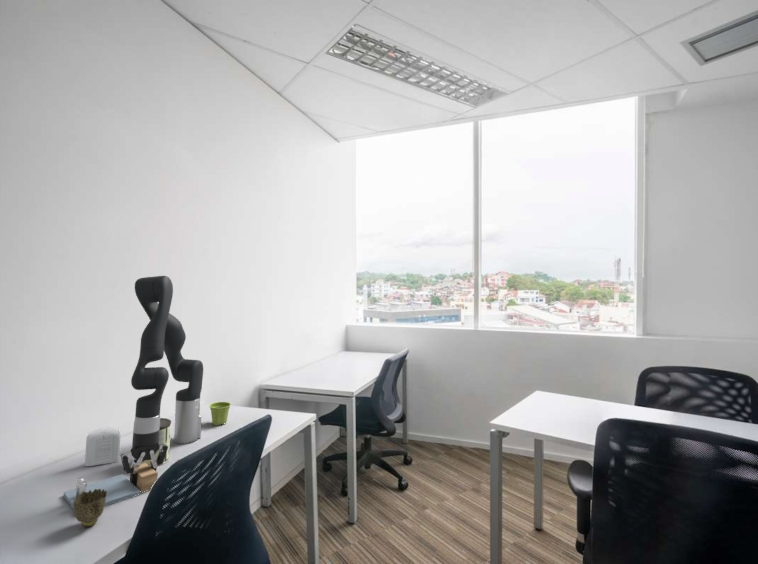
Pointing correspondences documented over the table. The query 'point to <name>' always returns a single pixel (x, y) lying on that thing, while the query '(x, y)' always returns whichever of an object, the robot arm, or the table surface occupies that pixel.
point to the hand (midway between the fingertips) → (142, 481)
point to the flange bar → (145, 477)
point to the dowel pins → (80, 486)
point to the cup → (89, 506)
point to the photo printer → (102, 446)
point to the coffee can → (163, 439)
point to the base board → (108, 490)
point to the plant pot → (219, 412)
